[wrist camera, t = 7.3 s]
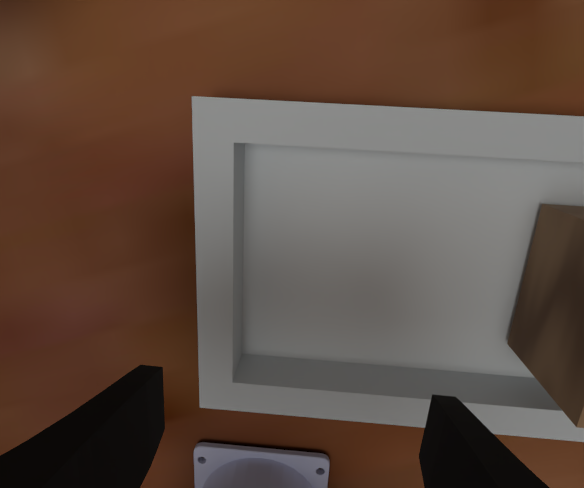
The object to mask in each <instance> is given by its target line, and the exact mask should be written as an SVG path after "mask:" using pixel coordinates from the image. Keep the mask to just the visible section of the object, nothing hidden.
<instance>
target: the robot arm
mask: <svg viewBox="0 0 584 488" xmlns="http://www.w3.org/2000/svg"><path fill="white" fill-rule="evenodd" d="M164 429H165V422H164V395H163V367H156V366H146V365H140V366H138V367H137V368H135V369H134V370H132V371H131V372H129V373H128V374H126V375H125V376H123V377H122V378H121V379H119V380H118V381H116V382H115V383H114V384H112V385H111V386H109V387H108V388H106V389H105V390H104V391H102V392H101V393H99V394H98V395H96V396H95V397H94V398H92V399H91V400H89V401H88V402H86V403H85V404H83V405H82V406H80V407H79V408H78V409H76V410H75V411H73V412H72V413H70V414H68V415H67V416H65V417H64V418H62V419H61V420H59V421H57V422H56V423H54V424H53V425H51V426H50V427H48V428H46V429H45V430H43V431H42V432H40V433H38V434H37V435H35V436H34V437H32V438H30V439H29V440H27V441H25V442H24V443H22V444H20V445H19V446H17V447H15V448H13V449H12V450H10V451H8V452H6V453H4V454H3V455H1V456H0V488H140V486H141V484H142V482H143V480H144V478H145V476H146V474H147V472H148V470H149V468H150V466H151V464H152V461H153V459H154V456H155V454H156V451H157V448H158V446H159V443H160V440H161V437H162V435H163V432H164ZM201 457H204V458H201ZM419 459H420V464H421V470H422V476H423V481H424V486H425V488H549V487H548V486H547V485H546V484H545V483H544V482H542V481H541V480H540V479H539V478H538V477H537V476H536V475H535V474H534V473H533V472H532V471H531V470H529V469H528V468H527V467H526V466H525V465H524V464H523V463H522V462H521V461H520V460H519V459H518V458H517V457H516V456H515V455H514V454H513V453H512V452H511V451H510V450H509V449H508V448H507V447H506V446H505V445H504V444H503V443H502V442H501V441H500V440H499V439H498V438H497V437H496V436H495V435H494V434H493V433H492V432H491V431H490V430H489V429H488V428H487V427H486V426H485V425H484V424H483V423H482V422H481V421H480V420H479V419H478V418H477V417H476V416H475V415H474V414H473V413H472V412H471V411H470V410H469V409H468V408H467V407H466V406H465V405H464V404H463V403H462V402H461V401H460V400H459V399H458V398H457V397H454V396H444V395H434V394H432V397H431V402H430V407H429V411H428V416H427V421H426V425H425V430H424V435H423V439H422V444H421V449H420V453H419ZM329 466H330V461H329V457H328V456H327V455H325V454H322V453H313V452H302V451H292V450H281V449H270V448H260V447H249V446H238V445H228V444H217V443H206V442H200V443H198V444H197V445H196V446H195V449H194V482H195V488H327V486H328V476H329ZM318 468H322V469H318Z"/></svg>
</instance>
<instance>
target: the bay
mask: <svg viewBox="0 0 584 488" xmlns="http://www.w3.org/2000/svg"><path fill="white" fill-rule="evenodd" d="M192 125H193V164H194V203H195V242H196V282H197V321H198V360H199V400H200V408H211V409H222V410H233V411H244V412H255V413H267V414H278V415H289V416H300V417H311V418H322V419H334V420H345V421H356V422H367V423H378V424H389V425H401V426H412V427H423V428H425V425H426V421H427V416H428V411H429V407H430V402H431V397H432V394H434V395H444V396H454V397H457V398H458V399H459V400H460V401H461V402H462V403H463V404H464V405H465V406H466V407H467V408H468V409H469V410H470V411H471V412H472V413H473V414H474V415H475V416H476V417H477V418H478V419H479V420H480V421H481V422H482V423H483V424H484V425H485V426H486V427H487V428H488V429H489V430H490V431H491V432H492V433H493V434H501V435H512V436H523V437H534V438H546V439H557V440H568V441H579V442H584V428H577V427H576V426H575V425H574V424H573V423H572V421H571V420H570V419H569V418H568V417H567V415H566V414H565V413H564V412H563V411H562V409H561V408H560V407H559V406H558V405H557V403H556V402H555V401H554V400H553V399H552V397H551V396H550V395H549V394H548V393H547V391H546V390H545V389H544V388H543V387H542V385H541V384H540V383H539V382H538V380H537V379H536V378H535V377H534V376H533V374H532V373H531V372H530V371H529V370H528V368H527V367H526V366H525V365H524V364H523V362H522V361H521V360H520V359H519V358H518V356H517V355H516V354H515V353H514V352H513V350H512V349H511V348H510V347H509V346H508V344H507V342H508V338H509V334H510V330H511V326H512V322H513V318H514V314H515V310H516V306H517V302H518V298H519V294H520V290H521V286H522V282H523V278H524V274H525V270H526V266H527V262H528V258H529V254H530V250H531V246H532V242H533V238H534V234H535V230H536V226H537V222H538V218H539V214H540V210H541V206H542V204H552V205H568V206H584V117H583V116H564V115H545V114H525V113H506V112H487V111H467V110H448V109H429V108H410V107H390V106H371V105H352V104H332V103H313V102H294V101H274V100H255V99H236V98H216V97H197V96H192Z"/></svg>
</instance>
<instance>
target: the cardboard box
mask: <svg viewBox="0 0 584 488" xmlns="http://www.w3.org/2000/svg"><path fill="white" fill-rule="evenodd" d="M507 344H508V346H509V347H510V348H511V349H512V350H513V352H514V353H515V354H516V355H517V356H518V358H519V359H520V360H521V361H522V362H523V364H524V365H525V366H526V367H527V368H528V370H529V371H530V372H531V373H532V374H533V376H534V377H535V378H536V379H537V380H538V382H539V383H540V384H541V385H542V387H543V388H544V389H545V390H546V391H547V393H548V394H549V395H550V396H551V397H552V399H553V400H554V401H555V402H556V403H557V405H558V406H559V407H560V408H561V409H562V411H563V412H564V413H565V414H566V415H567V417H568V418H569V419H570V420H571V421H572V423H573V424H574V425H575V426H576V427H577V428H584V206H568V205H552V204H542V206H541V210H540V214H539V218H538V222H537V226H536V230H535V234H534V238H533V242H532V246H531V250H530V254H529V258H528V262H527V266H526V270H525V274H524V278H523V282H522V286H521V290H520V294H519V298H518V302H517V306H516V310H515V314H514V318H513V322H512V326H511V330H510V334H509V338H508V342H507Z"/></svg>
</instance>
